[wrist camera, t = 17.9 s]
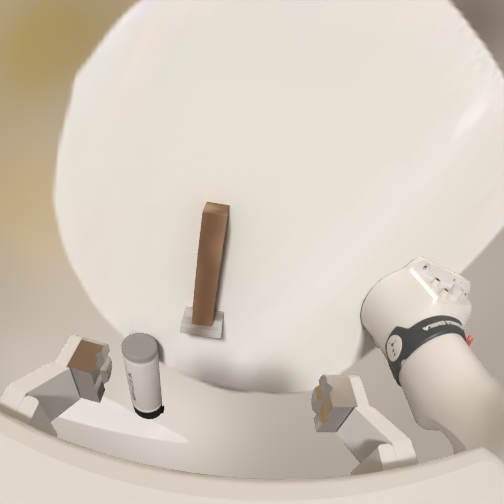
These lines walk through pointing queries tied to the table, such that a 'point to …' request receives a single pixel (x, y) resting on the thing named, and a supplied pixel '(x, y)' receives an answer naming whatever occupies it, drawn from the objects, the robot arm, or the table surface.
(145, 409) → the travel mug
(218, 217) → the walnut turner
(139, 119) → the table surface
